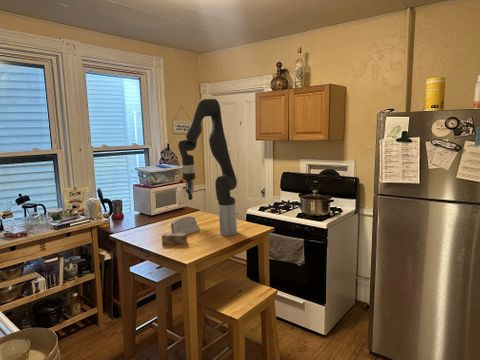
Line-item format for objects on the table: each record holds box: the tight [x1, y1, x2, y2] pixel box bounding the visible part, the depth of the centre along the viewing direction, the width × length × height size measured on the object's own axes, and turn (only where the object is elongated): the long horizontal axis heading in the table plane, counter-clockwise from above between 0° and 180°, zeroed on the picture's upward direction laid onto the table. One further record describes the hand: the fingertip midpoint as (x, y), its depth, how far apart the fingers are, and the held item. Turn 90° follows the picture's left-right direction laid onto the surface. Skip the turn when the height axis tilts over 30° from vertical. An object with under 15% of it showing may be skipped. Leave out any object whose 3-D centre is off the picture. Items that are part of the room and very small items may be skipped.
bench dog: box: [161, 232, 188, 246], centre depth 168 cm, size 12×4×5 cm, turn 84°
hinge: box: [170, 216, 201, 235], centre depth 187 cm, size 17×5×10 cm, turn 136°
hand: (190, 199), depth 202 cm, fingers closed
